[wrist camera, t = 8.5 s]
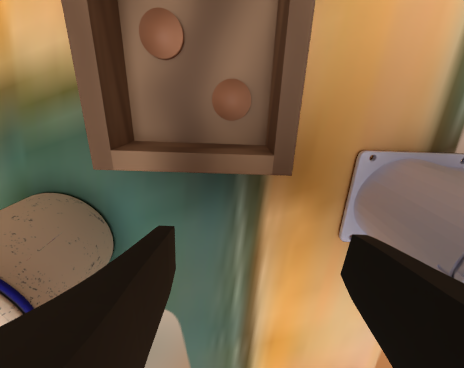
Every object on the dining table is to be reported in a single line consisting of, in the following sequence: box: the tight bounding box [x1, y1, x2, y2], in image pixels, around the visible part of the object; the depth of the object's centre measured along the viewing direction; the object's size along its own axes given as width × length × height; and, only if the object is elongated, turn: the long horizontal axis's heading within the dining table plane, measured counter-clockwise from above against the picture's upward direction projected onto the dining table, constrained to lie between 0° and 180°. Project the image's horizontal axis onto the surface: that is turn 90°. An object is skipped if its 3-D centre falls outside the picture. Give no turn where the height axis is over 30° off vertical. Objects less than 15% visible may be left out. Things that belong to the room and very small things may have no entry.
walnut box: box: [61, 0, 315, 176], centre depth 13 cm, size 12×12×4 cm
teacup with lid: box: [0, 193, 113, 326], centre depth 15 cm, size 12×9×12 cm
